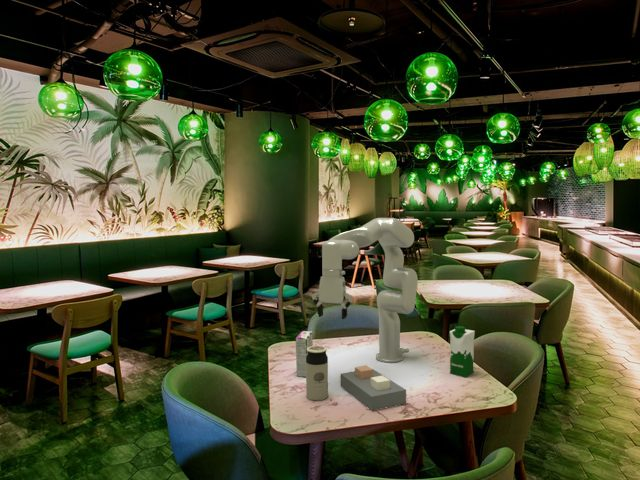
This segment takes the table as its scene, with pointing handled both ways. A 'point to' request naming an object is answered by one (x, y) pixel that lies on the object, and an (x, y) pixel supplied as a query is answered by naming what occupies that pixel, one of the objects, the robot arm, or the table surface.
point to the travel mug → (316, 373)
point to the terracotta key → (363, 372)
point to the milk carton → (461, 351)
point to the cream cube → (380, 383)
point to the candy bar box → (302, 351)
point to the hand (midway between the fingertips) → (332, 317)
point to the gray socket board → (372, 391)
